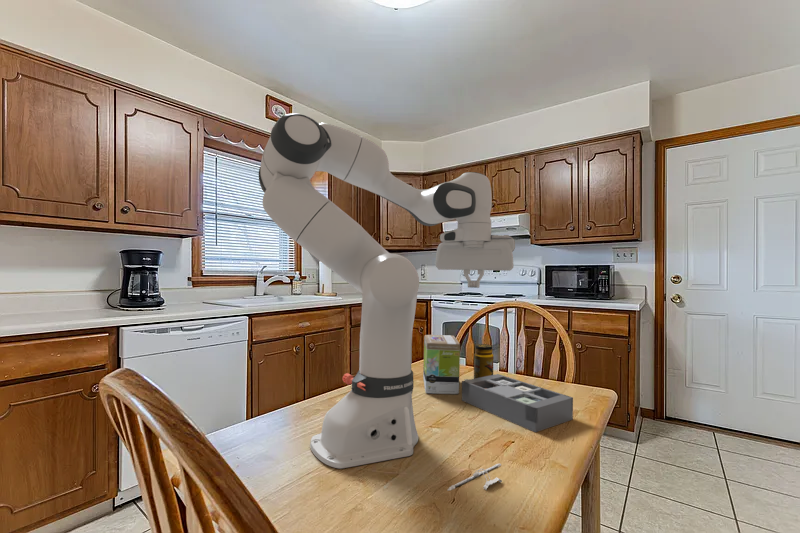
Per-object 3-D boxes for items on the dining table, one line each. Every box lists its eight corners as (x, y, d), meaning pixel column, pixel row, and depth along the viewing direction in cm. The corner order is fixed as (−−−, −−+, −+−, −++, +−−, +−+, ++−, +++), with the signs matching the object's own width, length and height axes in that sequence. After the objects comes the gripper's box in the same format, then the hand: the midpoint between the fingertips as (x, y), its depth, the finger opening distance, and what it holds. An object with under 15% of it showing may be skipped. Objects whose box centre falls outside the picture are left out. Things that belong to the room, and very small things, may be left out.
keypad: (535, 432, 87) (535, 408, 87) (461, 400, 107) (462, 381, 107) (572, 419, 95) (573, 397, 95) (497, 392, 115) (497, 373, 115)
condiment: (497, 386, 120) (498, 347, 120) (471, 387, 119) (471, 347, 119) (489, 379, 127) (489, 342, 127) (464, 380, 126) (464, 343, 126)
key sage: (527, 411, 91) (527, 404, 91) (513, 406, 94) (513, 399, 94) (538, 408, 93) (538, 401, 93) (524, 403, 96) (524, 396, 96)
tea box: (460, 394, 112) (460, 343, 112) (425, 394, 112) (425, 342, 112) (453, 379, 127) (454, 334, 127) (422, 379, 127) (423, 333, 127)
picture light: (499, 465, 73) (499, 454, 73) (519, 475, 70) (519, 464, 69) (445, 491, 64) (446, 478, 64) (465, 505, 61) (466, 491, 61)
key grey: (504, 391, 105) (504, 385, 105) (493, 387, 109) (493, 381, 109) (514, 388, 108) (514, 383, 108) (503, 385, 111) (503, 379, 111)
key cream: (524, 398, 100) (524, 391, 100) (511, 393, 103) (511, 387, 103) (534, 395, 102) (534, 389, 102) (521, 391, 105) (522, 385, 105)
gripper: (515, 235, 103) (515, 288, 103) (439, 236, 110) (439, 285, 110) (514, 233, 97) (513, 289, 97) (434, 235, 104) (433, 287, 104)
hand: (473, 287), depth 104 cm, fingers closed
